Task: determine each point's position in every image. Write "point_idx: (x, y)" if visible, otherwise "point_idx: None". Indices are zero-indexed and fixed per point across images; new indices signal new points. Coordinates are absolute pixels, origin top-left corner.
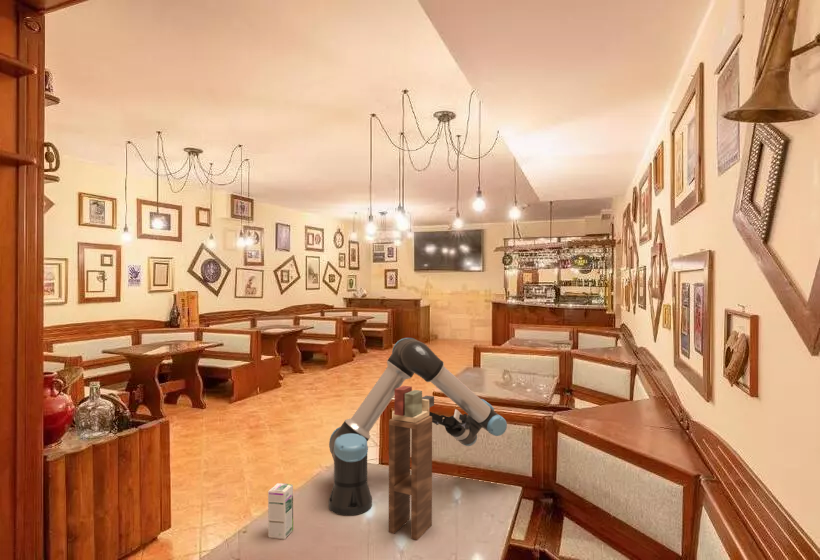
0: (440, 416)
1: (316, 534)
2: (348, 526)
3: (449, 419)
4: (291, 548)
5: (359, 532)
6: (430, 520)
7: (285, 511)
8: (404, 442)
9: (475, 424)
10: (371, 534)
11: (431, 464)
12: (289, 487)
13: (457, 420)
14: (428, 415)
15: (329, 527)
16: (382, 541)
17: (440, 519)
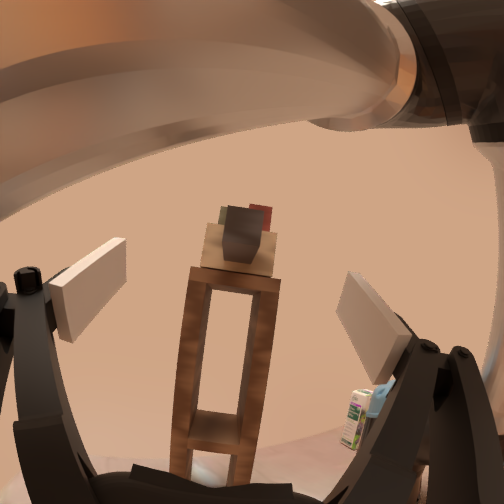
0: (365, 453)
1: (324, 456)
2: (309, 478)
3: (208, 493)
4: (317, 439)
5: (280, 475)
6: None
7: (347, 414)
8: (250, 348)
9: None
10: (260, 477)
11: (174, 399)
12: (361, 394)
13: (69, 419)
14: (200, 266)
15: (328, 468)
16: None
17: None
